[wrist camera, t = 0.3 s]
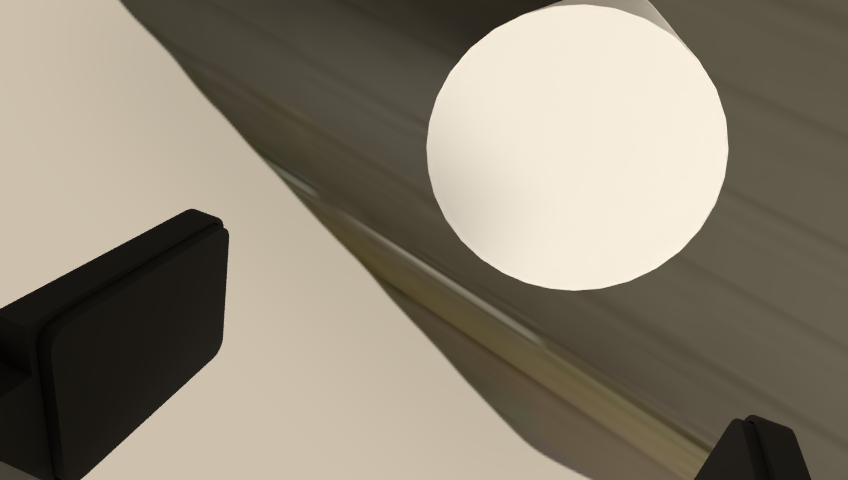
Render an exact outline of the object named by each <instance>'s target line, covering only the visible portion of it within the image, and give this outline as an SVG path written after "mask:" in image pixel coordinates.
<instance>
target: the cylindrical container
mask: <svg viewBox="0 0 848 480" xmlns="http://www.w3.org/2000/svg"><path fill="white" fill-rule="evenodd" d="M727 156H728V139H727V127H726V118H725V115H724V112H723V109H722V106H721V103H720V100H719V96H718V93H717V90H716V88H715V86H714V85H713V83H712V81H711V80H710V78H709V76H708V75H707V73H706V72H705V70H704V68H703V67H702V65H701V63H700V62H699V60H698V59H697V58H696V57H695V56H694V54H693V53H692V52H691V51H690V50H689V48H688V47H687V46H686V45H685V44H684V43H683V41H682V40H681V39H680V38H679V37H678V36H677V34H676V33H675V32H674V31H673V29H672V28H671V27H670V25H669V24H668V23H667V22H666V20H665V19H664V18H663V17H662V16H661V15H660V13H659V12H658V11H657V10H656V8H655V7H654V6H653V5H652V4H651V3H650V2H649V1H648V0H563V1H560V2H557V3H554V4H551V5H549V6H546V7H543V8H540V9H537V10H535V11H532V12H529V13H526V14H524V15H522V16H520V17H518V18H516V19H514V20H512V21H510V22H508V23H506V24H504V25H502V26H499V27H497V28H495V29H494V30H493V31H491V32H490V33H489V34H488V35H486V36H485V37H484V38H483V39H481V40H480V41H479V42H478V43H476V44H475V45H474V46H472V47H471V48H470V49H469V50H468V51H467V53H466V54H465V55H464V56H463V57H462V59H461V60H460V61H459V62H458V63H457V65H456V66H455V67H454V68H453V69H452V71H451V72H450V74H449V76H448V78H447V79H446V81H445V83H444V85H443V87H442V89H441V91H440V93H439V94H438V96H437V99H436V102H435V105H434V109H433V112H432V115H431V119H430V122H429V130H428V139H427V159H428V172H429V175H430V179H431V183H432V187H433V191H434V195H435V197H436V199H437V201H438V204H439V206H440V208H441V210H442V212H443V214H444V216H445V218H446V220H447V221H448V223H449V224H450V225H451V227H452V228H453V230H454V231H455V232H456V234H457V235H458V236H459V238H460V239H461V240H462V241H463V242H464V243H465V244H466V245H467V246H468V247H469V248H470V249H471V250H472V251H473V252H474V253H475V254H476V255H478V256H479V257H480V258H481V259H482V260H484V261H485V262H487V263H488V264H490V265H492V266H493V267H495V268H496V269H498V270H499V271H501V272H502V273H505V274H507V275H509V276H512V277H514V278H516V279H519V280H521V281H524V282H526V283H530V284H534V285H538V286H542V287H546V288H550V289H563V290H587V289H599V288H605V287H609V286H612V285H616V284H620V283H624V282H628V281H630V280H633V279H635V278H637V277H639V276H641V275H643V274H645V273H648V272H650V271H652V270H654V269H656V268H657V267H659V266H660V265H661V264H663V263H664V262H666V261H667V260H668V259H670V258H671V257H672V256H674V255H675V254H677V253H678V252H679V251H680V250H681V249H682V248H683V247H684V246H685V245H686V244H687V243H688V242H689V241H690V240H691V238H692V237H693V236H694V235H695V234H696V233H697V232H698V231H699V230H700V229H701V227H702V225H703V224H704V222H705V220H706V219H707V217H708V215H709V213H710V212H711V210H712V208H713V207H714V205H715V203H716V200H717V198H718V195H719V192H720V189H721V186H722V183H723V180H724V178H725V170H726V163H727Z"/></svg>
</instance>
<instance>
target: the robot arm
mask: <svg viewBox="0 0 848 480" xmlns="http://www.w3.org/2000/svg"><path fill="white" fill-rule="evenodd" d="M228 246H229V233H228V231H227V229H225V228H223V222H222V220H221V219H219V218H217V217H215V216H212V215H209V214H206V213H204V212H201V211H198V210H195V209H189V210H186V211H184V212H182V213H180V214H179V215H177V216H175V217H173V218H171V219H169V220H167V221H165V222H163V223H162V224H160V225H158V226H156V227H154V228H152V229H150V230H148V231H146V232H144V233H143V234H141V235H139V236H137V237H135V238H133V239H131V240H130V241H127V242H126V243H124V244H122V245H120V246H118V247H116V248H114V249H113V250H110V251H109V252H107V253H105V254H103V255H101V256H99V257H97V258H95V259H93V260H92V261H90V262H88V263H86V264H84V265H82V266H80V267H79V268H77V269H75V270H73V271H71V272H69V273H67V274H65V275H63V276H61V277H59V278H58V279H56V280H54V281H52V282H50V283H48V284H46V285H44V286H43V287H41V288H39V289H37V290H35V291H33V292H31V293H29V294H27V295H25V296H24V297H22V298H20V299H18V300H16V301H14V302H12V303H10V304H8V305H7V306H5V307H3V308H1V309H0V480H80V479H82V478H83V477H84V476H85V475H87V474H88V473H89V472H90V471H91V470H92V469H93V468H94V467H95V466H96V465H97V464H98V463H99V462H101V461H102V460H103V459H104V458H105V457H106V456H107V455H108V454H109V453H110V452H112V451H113V449H115V448H116V447H117V446H118V445H119V444H120V443H121V442H122V441H124V440H125V439H126V438H127V437H128V436H129V435H130V434H131V433H132V432H133V431H134V430H135V429H136V428H138V427H139V426H140V425H141V424H142V423H143V422H144V421H145V420H146V419H147V418H149V416H151V415H152V414H153V413H154V412H155V411H156V410H157V409H158V408H159V407H161V406H162V405H163V404H164V403H165V402H166V401H167V400H168V399H169V398H170V397H171V396H172V395H174V394H175V393H176V392H177V391H178V390H179V389H180V388H181V387H182V386H183V385H185V384H186V383H187V382H188V381H189V380H190V379H191V378H192V377H193V376H194V375H195V374H196V373H198V372H199V371H200V370H201V369H202V368H203V367H204V366H205V365H206V364H207V363H208V362H210V361H211V360H212V359H213V358H214V357H215V356H216V354H217V353H218V351H219V349H220V347H221V344H222V340H223V328H224V310H225V295H226V279H227V262H228ZM694 480H811V478H810V475H809V472H808V469H807V467H806V464H805V461H804V458H803V455H802V453H801V450H800V447H799V444H798V442H797V439H796V436H795V434H794V432H793V430H792V429H790V428H788V427H786V426H783V425H780V424H777V423H775V422H772V421H769V420H767V419H764V418H761V417H758V416H756V415H750V416H748V417H747V418H745V420H744V421H743V420H741V419H734V420H733V421H732V422H731V423H730V424H729V426H728V427H727V429H726V430H725V432H724V433H723V435H722V437H721V438H720V440H719V441H718V443H717V444H716V446H715V447H714V449H713V451H712V452H711V454H710V455H709V457H708V458H707V460H706V462H705V463H704V465H703V466H702V468H701V469H700V471H699V473H698V474H697V476H696V477H695V479H694Z"/></svg>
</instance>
